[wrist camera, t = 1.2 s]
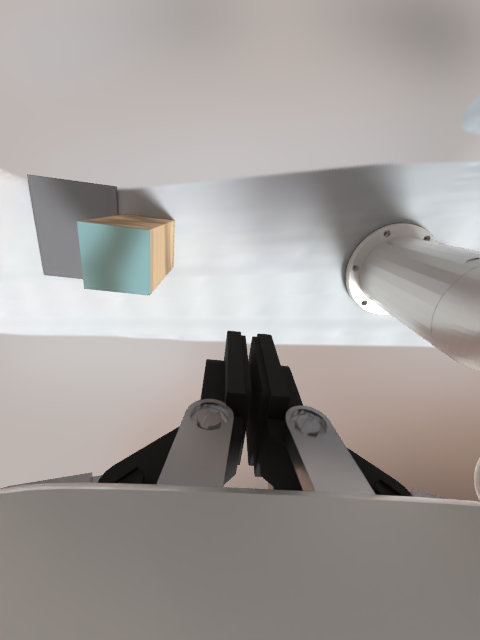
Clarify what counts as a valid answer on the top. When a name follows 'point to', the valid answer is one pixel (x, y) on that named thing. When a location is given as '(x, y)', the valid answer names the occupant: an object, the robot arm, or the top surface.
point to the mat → (66, 219)
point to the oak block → (126, 252)
